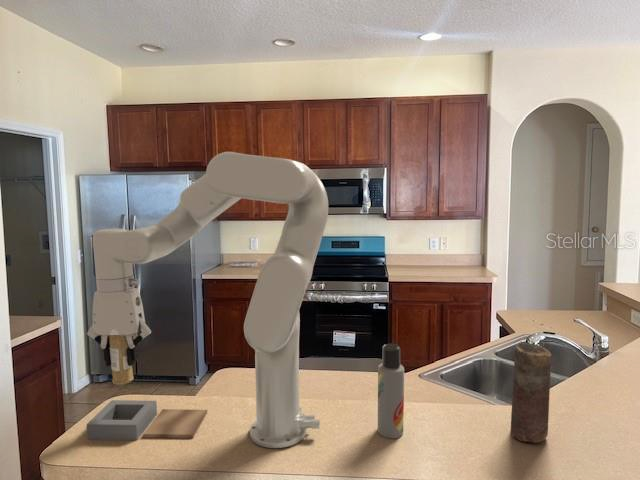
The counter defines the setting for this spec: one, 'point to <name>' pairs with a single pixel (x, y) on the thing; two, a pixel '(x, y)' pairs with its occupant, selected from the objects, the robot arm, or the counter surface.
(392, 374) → the lotion bottle
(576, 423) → the counter surface
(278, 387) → the robot arm
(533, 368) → the candle
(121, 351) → the sprinkles bottle
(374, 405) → the counter surface
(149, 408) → the grey square tray
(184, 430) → the coaster board
